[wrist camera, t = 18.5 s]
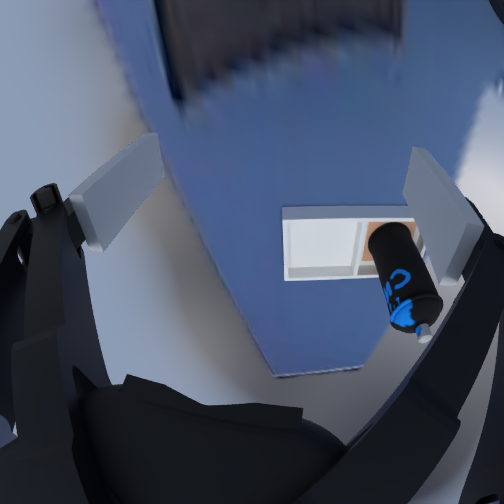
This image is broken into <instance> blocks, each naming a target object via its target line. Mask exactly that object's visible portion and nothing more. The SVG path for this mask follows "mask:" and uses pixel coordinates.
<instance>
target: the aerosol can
mask: <svg viewBox="0 0 504 504" xmlns="http://www.w3.org/2000/svg"><path fill="white" fill-rule="evenodd" d="M368 250H369V252H370V253H371V255H372V257H373V260H374V263H375V266H376V269H377V272H378V275H379V279H380V282H381V285H382V288H383V292H384V295H385V298H386V302H387V305H388V309H389V313H390V316H391V317H390V323H391V325H392V327H393V328H395V329H396V330H400V331H402V332H405V333H416V334H417V337H418V341H419V343H425V342H428V341H429V340H430V339H431V338H432V335H431V332H430V329H429V327H430V326H431V325H432V324H434V323H435V321H436V320H437V318H438V317H439V315H440V312H441V311H442V308H443V300H442V298H441V297H440V296H439V295H438V292H437V290H436V288H435V285H434V283H433V281H432V279H431V277H430V274H429V272H428V270H427V268H426V265H425V263H424V261H423V259H422V257H421V255H420V253H419V251H418V249H417V247H416V245H415V243H414V241H413V239H412V237H411V232H410V230H409V228H408V227H407V226H406V225H404V224H402V223H399V222H390V223H386V224H384V225H382V226H380V227H378V228H377V229H376V230H375V231H374V232H373V233H372V234H371V236H370V238H369V241H368Z"/></svg>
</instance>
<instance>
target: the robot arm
mask: <svg viewBox="0 0 504 504" xmlns="http://www.w3.org/2000/svg"><path fill="white" fill-rule="evenodd" d="M490 2H491V4H492V7H493V8H494V10H495V12H496V14H497V15H498V17H499V18H500V20H501V21H502V22H503V24H504V0H490ZM164 178H165V174H164V169H163V163H162V158H161V152H160V147H159V141H158V135H157V132H154V133H145V134H143V135H142V136H140V137H139V138H138V139H136V140H135V141H134V142H132V143H131V144H130V145H128V146H127V147H126V148H124V149H123V150H122V151H120V152H119V153H118V154H116V155H115V156H114V157H113V158H111V159H110V160H109V161H107V162H106V163H105V164H104V165H103V166H101V167H100V168H99V169H98V170H97V171H95V172H94V173H93V174H92V175H91V176H90V177H88V178H87V179H86V180H85V181H84V182H83V183H81V184H80V185H79V186H78V187H77V188H76V189H75V190H73V191H72V192H71V193H70V194H69V195H68V196H69V197H68V198H67V199H66V200H65V201H64V202H63V201H62V198H61V195H60V192H59V190H58V187H57V184H55V183H52V184H48V185H45V186H43V187H41V188H39V189H38V190H36V191H35V192H34V193H33V194H32V195H31V197H30V199H31V202H32V204H33V207H34V209H35V211H36V214H37V216H36V217H35V218H31V219H30V217H29V215H28V213H27V211H26V210H21V211H18V212H15V213H13V214H12V215H11V216H10V217H9V218H8V219H7V220H6V222H5V223H4V225H3V226H2V228H1V230H0V504H407V503H408V502H409V501H410V500H411V498H412V497H413V496H414V495H415V494H416V492H417V491H418V490H419V488H420V487H421V486H422V485H423V483H424V482H425V480H426V479H427V478H428V477H429V475H430V474H431V472H432V471H433V470H434V468H435V467H436V465H437V464H438V462H439V461H440V459H441V458H442V456H443V455H444V453H445V452H446V450H447V449H448V447H449V446H450V443H451V442H452V441H453V439H454V437H455V436H456V434H457V432H458V430H459V427H460V423H461V421H460V420H459V419H457V416H458V414H459V412H460V410H461V407H462V406H463V404H464V402H465V400H466V398H467V396H468V394H469V392H470V390H471V388H472V386H473V384H474V382H475V380H476V378H477V376H478V373H479V371H480V369H481V367H482V365H483V362H484V360H485V357H486V355H487V353H488V350H489V348H490V345H491V342H492V340H493V337H494V334H495V332H496V329H497V326H498V323H499V336H498V348H497V357H496V365H495V372H494V378H493V384H492V390H491V395H490V400H489V405H488V410H487V414H486V418H485V422H484V426H483V430H482V433H481V437H480V440H479V444H478V447H477V450H476V453H475V456H474V459H473V462H472V465H471V468H470V470H469V473H468V476H467V479H466V482H465V485H464V487H463V490H462V493H461V496H460V500H459V503H458V504H504V237H503V236H501V235H499V234H496V233H493V232H492V230H491V229H490V227H489V225H488V224H487V222H486V221H485V219H483V216H482V215H481V214H480V213H479V211H478V209H477V208H476V207H475V205H474V204H473V203H472V202H471V201H469V199H467V198H466V197H464V195H463V194H462V193H461V191H460V190H459V189H458V187H457V186H456V185H455V183H454V182H453V181H452V179H451V178H450V177H449V176H448V174H447V173H446V172H445V171H444V169H443V168H442V167H441V166H440V165H439V163H438V162H437V161H436V160H435V159H434V157H433V156H432V155H431V154H430V153H429V152H428V150H427V149H425V148H420V147H415V146H413V147H412V153H411V157H410V162H409V167H408V172H407V176H406V180H405V185H404V189H403V193H402V194H403V196H404V198H405V200H406V202H407V205H408V207H409V209H410V211H411V214H412V216H413V218H414V220H415V223H416V225H417V227H418V230H419V232H420V235H421V237H422V240H423V242H424V245H425V247H426V250H427V252H428V255H429V258H430V260H431V263H432V266H433V269H434V271H435V274H436V277H437V280H438V283H439V285H448V286H455V285H456V284H457V282H458V280H459V278H460V276H461V274H462V275H463V278H464V280H465V283H464V285H463V287H462V288H461V290H460V292H459V293H458V295H457V297H456V298H455V300H454V302H453V305H452V306H451V308H450V310H449V312H448V313H447V315H446V317H445V319H444V320H443V322H442V324H441V325H440V327H439V328H438V330H437V332H436V334H435V335H434V336H433V338H432V340H431V341H430V343H429V344H428V346H427V347H426V349H425V350H424V352H423V353H422V355H421V356H420V357H419V359H418V360H417V362H416V363H415V365H414V366H413V367H412V369H411V370H410V371H409V373H408V374H407V376H406V377H405V378H404V380H403V381H402V382H401V384H400V385H399V386H398V387H397V389H396V390H395V391H394V392H393V394H392V395H391V396H390V397H389V399H388V400H387V401H386V402H385V403H384V405H383V406H382V407H381V408H380V409H379V410H378V412H377V413H376V414H375V415H374V416H373V417H372V419H371V420H370V421H369V422H368V423H367V424H366V425H365V426H364V427H363V428H362V429H361V430H360V431H359V432H358V433H357V434H356V435H355V436H354V437H353V438H352V439H351V440H350V441H349V442H348V443H347V444H346V445H344V444H343V443H342V442H341V441H340V440H339V439H338V438H337V437H336V436H335V435H333V434H332V433H331V432H330V431H328V430H326V429H325V428H323V427H321V426H320V425H317V424H316V423H313V422H311V421H308V420H306V419H303V418H302V414H303V408H297V407H287V406H278V405H269V404H262V403H246V404H232V405H211V406H210V405H209V406H208V405H203V404H200V403H198V402H197V401H195V400H193V399H191V398H188V397H187V396H185V395H183V394H181V393H179V392H177V391H175V390H174V389H172V388H170V387H168V386H166V385H164V384H160V383H157V382H153V381H149V380H146V379H142V378H139V377H136V376H132V375H129V374H127V376H126V378H125V380H124V383H123V384H118V385H112V384H111V382H110V380H109V377H108V374H107V370H106V367H105V363H104V359H103V356H102V351H101V348H100V343H99V339H98V334H97V330H96V325H95V320H94V315H93V310H92V304H91V298H90V292H89V286H88V280H87V273H86V265H85V256H84V251H83V249H82V247H81V244H82V243H83V242H84V241H85V239H86V242H87V244H88V246H89V248H90V251H98V252H104V251H105V250H106V248H107V247H108V246H109V244H110V243H111V241H112V240H113V239H114V238H115V237H116V235H117V234H118V233H119V231H120V230H121V229H122V227H123V226H124V225H125V223H127V221H128V220H129V219H130V218H131V216H132V215H133V214H134V213H135V211H136V210H137V209H138V208H139V207H140V205H141V204H142V203H143V202H144V200H145V199H146V198H147V197H148V196H149V195H150V194H151V192H152V191H153V190H154V189H155V188H156V187H157V186H158V184H159V183H160V182H161V181H162V180H163V179H164ZM18 254H19V256H20V257H21V259H22V261H23V262H22V264H21V262H20V260H19V258H18ZM15 422H16V429H17V435H18V437H17V436H16V435H15V434H13V433H12V432H13V429H14V425H15Z"/></svg>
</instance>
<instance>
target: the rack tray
mask: <svg viewBox="0 0 504 504" xmlns="http://www.w3.org/2000/svg"><path fill="white" fill-rule="evenodd" d="M282 218H283V245H284V278H285V281H296V280H326V279H351V278H376V277H379V275H378V272H377V269H376V266H375V263H374V260H373V257H372V255H371V253H370V252H369V250H368V241H369V238H370V236H371V234H372V233H373V232H374V231H375V230H376V229H377V228H378V227H380V226H382V225H384V224H386V223H390V222H399V223H402V224H404V225H406V226H407V227H408V228H409V230H410V232H411V237H412V239H413V241H414V243H415V245H416V247H417V249H418V251H419V253H420V255H421V257H422V258H423V255H424V252H425V249H426V247H425V245H424V242H423V240H422V237H421V235H420V232H419V230H418V227H417V225H416V223H415V220H414V218H413V216H412V214H411V211H410V209H409V207H408V206H301V207H282Z"/></svg>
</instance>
